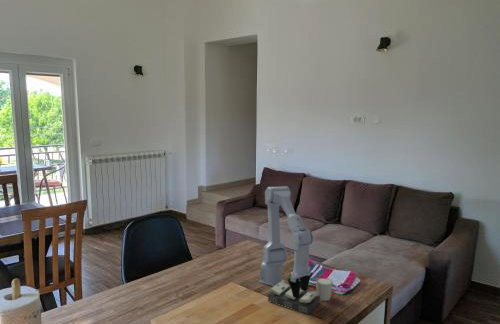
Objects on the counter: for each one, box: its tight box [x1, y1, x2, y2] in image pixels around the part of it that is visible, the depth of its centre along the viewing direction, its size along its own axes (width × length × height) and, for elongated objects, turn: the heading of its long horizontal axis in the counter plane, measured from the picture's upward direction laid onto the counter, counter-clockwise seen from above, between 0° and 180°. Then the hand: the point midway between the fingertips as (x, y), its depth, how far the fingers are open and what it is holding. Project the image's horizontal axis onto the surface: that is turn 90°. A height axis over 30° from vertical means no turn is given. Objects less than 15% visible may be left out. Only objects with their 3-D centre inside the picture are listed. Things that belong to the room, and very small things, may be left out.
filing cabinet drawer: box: [285, 288, 305, 300], centre depth 148 cm, size 4×9×1 cm, turn 147°
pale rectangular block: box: [270, 281, 291, 295], centre depth 151 cm, size 4×9×1 cm, turn 147°
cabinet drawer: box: [300, 290, 318, 303], centre depth 144 cm, size 4×9×1 cm, turn 148°
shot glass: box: [315, 277, 334, 302], centre depth 153 cm, size 7×7×7 cm
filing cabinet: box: [267, 286, 321, 316], centre depth 148 cm, size 18×11×4 cm, turn 57°
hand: (299, 293), depth 146 cm, fingers open, 7 cm apart
